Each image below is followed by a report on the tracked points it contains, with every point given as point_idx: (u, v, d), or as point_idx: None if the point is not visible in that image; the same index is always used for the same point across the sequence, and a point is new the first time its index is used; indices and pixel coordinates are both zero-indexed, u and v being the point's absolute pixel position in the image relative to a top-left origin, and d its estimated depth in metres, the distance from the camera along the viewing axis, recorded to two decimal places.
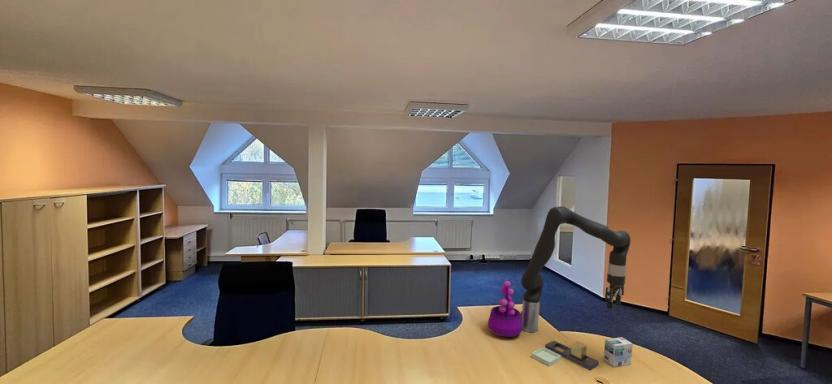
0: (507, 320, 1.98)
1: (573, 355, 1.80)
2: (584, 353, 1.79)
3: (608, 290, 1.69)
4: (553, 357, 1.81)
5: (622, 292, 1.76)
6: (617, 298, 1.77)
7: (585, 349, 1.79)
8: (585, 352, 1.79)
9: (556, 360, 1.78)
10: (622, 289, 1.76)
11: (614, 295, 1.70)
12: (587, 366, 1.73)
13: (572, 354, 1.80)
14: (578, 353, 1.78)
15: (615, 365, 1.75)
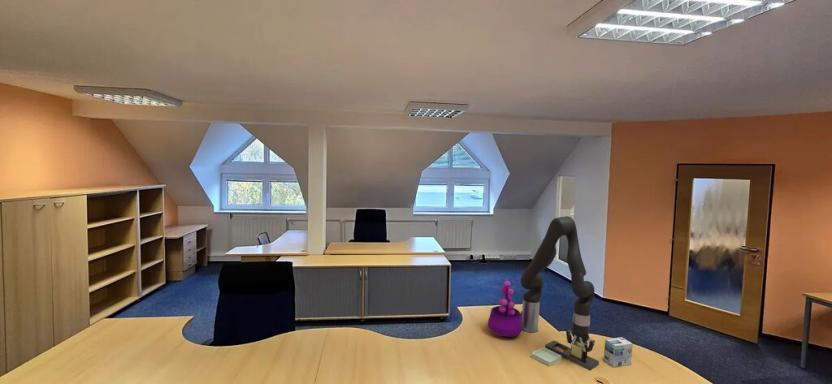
0: (507, 320, 1.98)
1: (573, 355, 1.80)
2: None
3: (593, 343, 1.74)
4: (553, 357, 1.81)
5: (571, 338, 1.84)
6: None
7: None
8: None
9: (556, 360, 1.78)
10: None
11: None
12: (587, 366, 1.73)
13: (572, 354, 1.80)
14: (578, 353, 1.78)
15: (615, 365, 1.75)
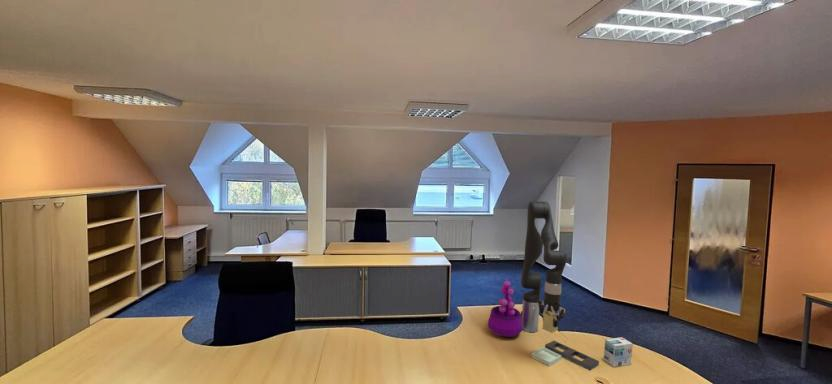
0: (507, 320, 1.98)
1: (545, 324, 1.79)
2: None
3: (564, 311, 1.74)
4: (553, 357, 1.81)
5: None
6: None
7: None
8: None
9: (556, 360, 1.78)
10: (543, 305, 1.83)
11: (558, 312, 1.78)
12: (587, 366, 1.73)
13: (544, 323, 1.79)
14: (549, 322, 1.77)
15: (615, 365, 1.75)
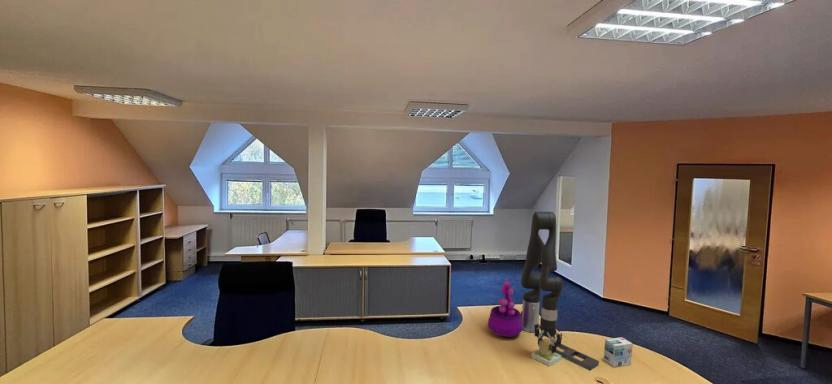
0: (507, 320, 1.98)
1: (541, 352, 1.81)
2: (551, 350, 1.79)
3: (560, 336, 1.75)
4: None
5: None
6: (540, 340, 1.83)
7: None
8: None
9: (556, 360, 1.78)
10: None
11: (555, 337, 1.78)
12: (587, 366, 1.73)
13: (540, 351, 1.81)
14: (545, 350, 1.78)
15: (615, 365, 1.75)
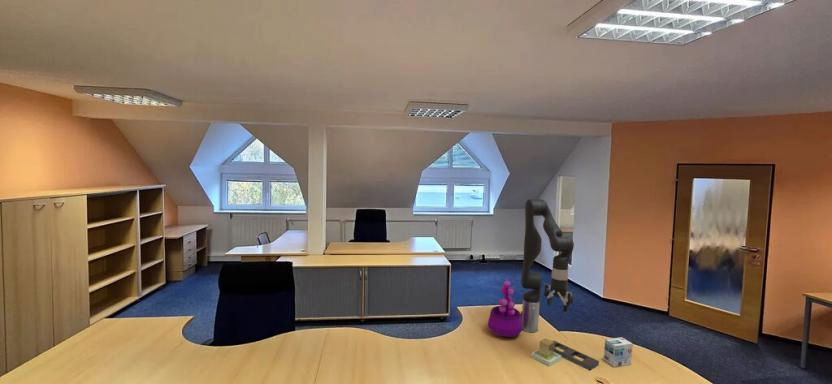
0: (507, 320, 1.98)
1: (541, 352, 1.81)
2: (551, 350, 1.79)
3: (571, 295, 1.76)
4: None
5: None
6: (550, 300, 1.85)
7: (552, 346, 1.79)
8: (552, 349, 1.80)
9: (556, 360, 1.78)
10: (549, 289, 1.87)
11: (566, 297, 1.80)
12: (587, 366, 1.73)
13: (540, 351, 1.81)
14: (545, 350, 1.78)
15: (615, 365, 1.75)
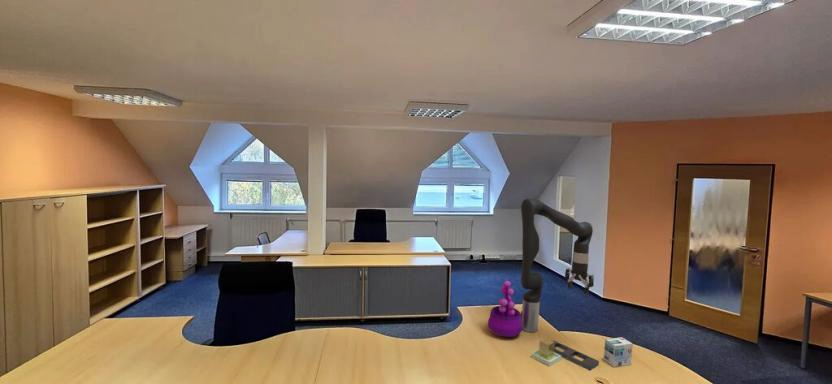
0: (507, 320, 1.98)
1: (541, 352, 1.81)
2: (551, 350, 1.79)
3: (592, 277, 1.84)
4: None
5: None
6: (571, 283, 1.93)
7: (552, 346, 1.79)
8: (552, 349, 1.80)
9: (556, 360, 1.78)
10: (569, 274, 1.95)
11: (587, 280, 1.87)
12: (587, 366, 1.73)
13: (540, 351, 1.81)
14: (545, 350, 1.78)
15: (615, 365, 1.75)
